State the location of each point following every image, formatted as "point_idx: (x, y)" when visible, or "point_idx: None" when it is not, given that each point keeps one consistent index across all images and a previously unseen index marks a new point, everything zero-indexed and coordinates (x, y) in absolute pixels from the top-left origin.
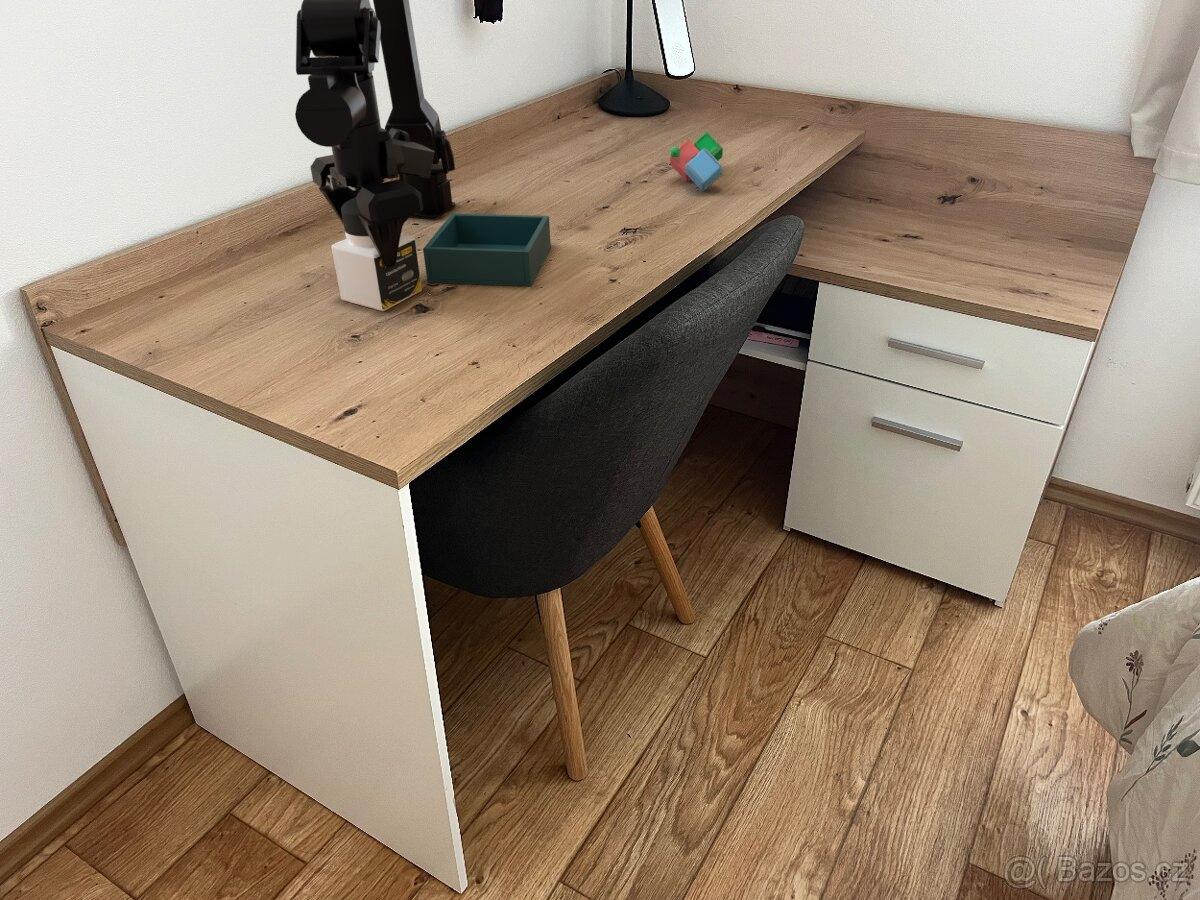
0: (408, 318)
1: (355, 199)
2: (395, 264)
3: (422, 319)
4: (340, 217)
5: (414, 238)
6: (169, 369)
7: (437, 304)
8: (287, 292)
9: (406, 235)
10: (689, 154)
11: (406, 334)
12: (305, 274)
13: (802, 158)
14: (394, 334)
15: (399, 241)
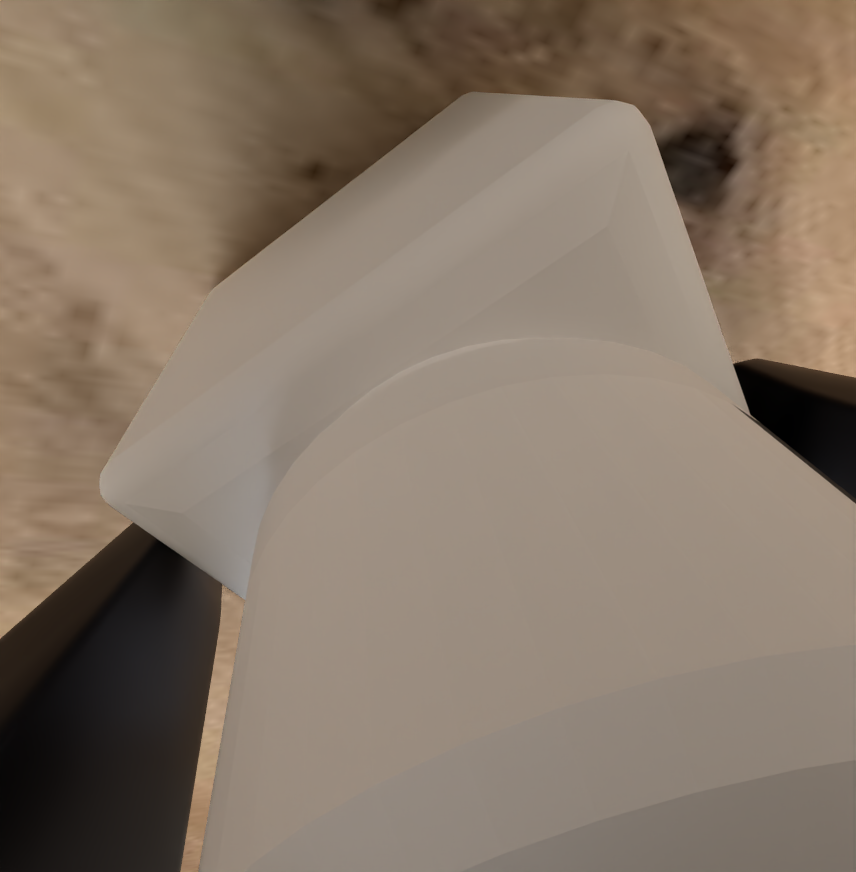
0: (730, 260)
1: None
2: (757, 359)
3: (789, 199)
4: (184, 832)
5: (627, 105)
6: None
7: (694, 55)
8: (219, 631)
9: (579, 207)
10: None
11: (853, 304)
12: (25, 584)
13: None
14: (814, 347)
15: (686, 323)
